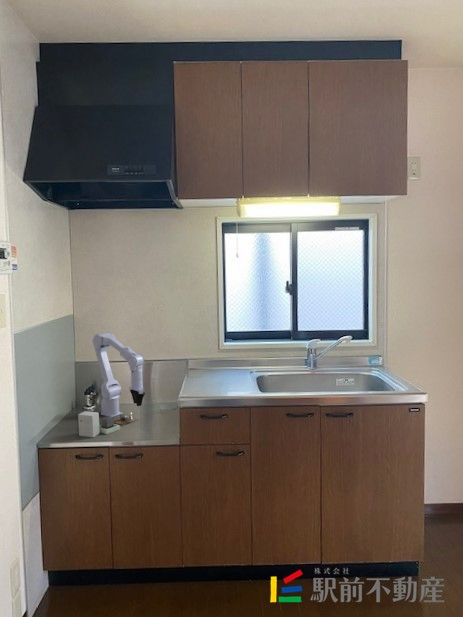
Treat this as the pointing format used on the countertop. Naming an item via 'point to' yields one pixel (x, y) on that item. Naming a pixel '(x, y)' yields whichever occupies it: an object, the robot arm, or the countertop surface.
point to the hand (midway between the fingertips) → (137, 404)
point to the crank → (127, 416)
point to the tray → (110, 430)
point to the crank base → (123, 421)
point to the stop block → (107, 422)
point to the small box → (88, 424)
